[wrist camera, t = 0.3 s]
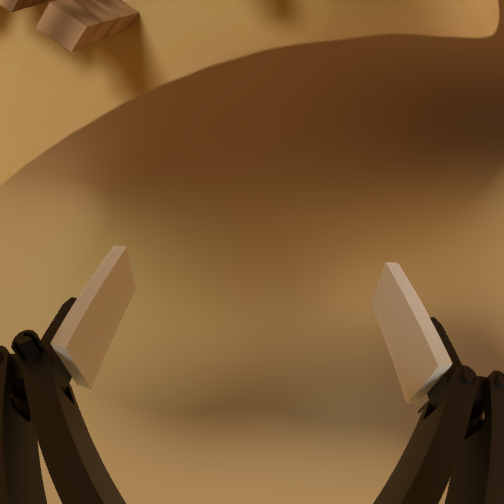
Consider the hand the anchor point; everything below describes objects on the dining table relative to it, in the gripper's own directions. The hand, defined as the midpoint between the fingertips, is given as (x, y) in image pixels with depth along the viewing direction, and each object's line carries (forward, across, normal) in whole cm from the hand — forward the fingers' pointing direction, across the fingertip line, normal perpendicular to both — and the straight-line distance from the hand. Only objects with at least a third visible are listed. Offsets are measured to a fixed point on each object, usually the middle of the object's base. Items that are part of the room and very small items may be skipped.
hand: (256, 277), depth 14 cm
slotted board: (+21, -25, +26) cm, 42 cm away
